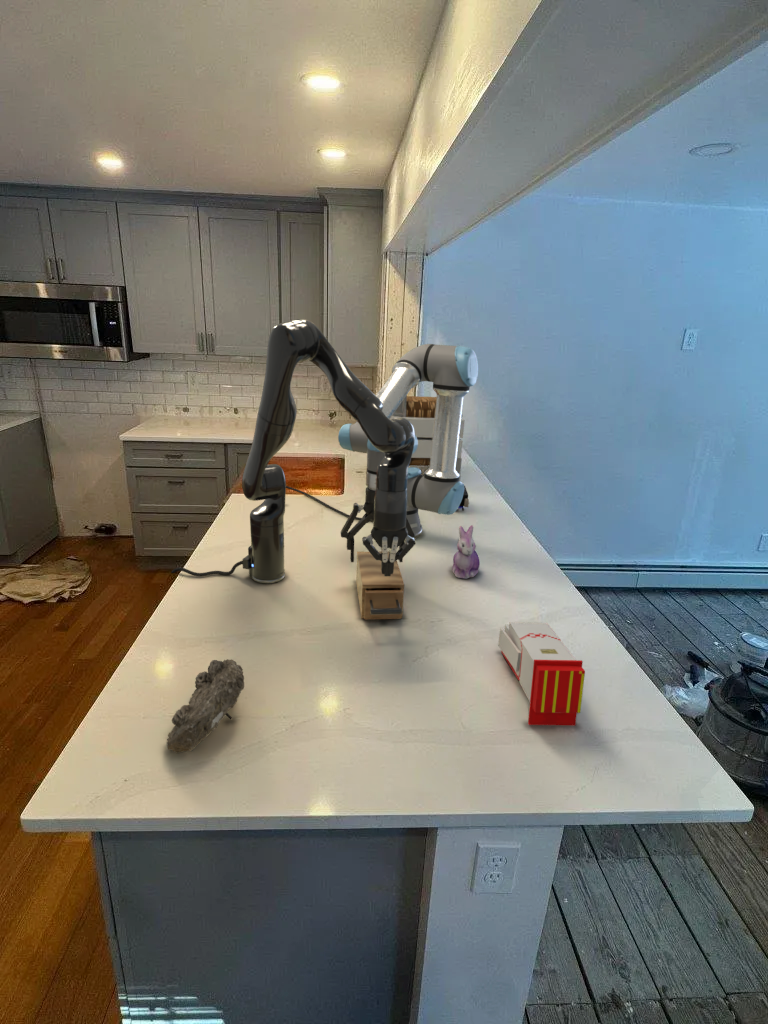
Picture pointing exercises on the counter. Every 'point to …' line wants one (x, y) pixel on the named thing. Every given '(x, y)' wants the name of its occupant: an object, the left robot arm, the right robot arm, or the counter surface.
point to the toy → (544, 672)
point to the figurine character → (464, 500)
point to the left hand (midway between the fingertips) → (387, 574)
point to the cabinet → (374, 577)
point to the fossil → (206, 705)
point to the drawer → (383, 603)
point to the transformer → (424, 428)
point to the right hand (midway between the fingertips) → (376, 560)
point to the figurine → (466, 555)
